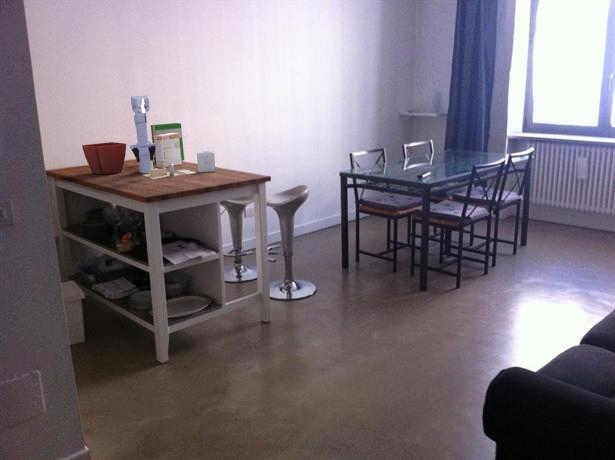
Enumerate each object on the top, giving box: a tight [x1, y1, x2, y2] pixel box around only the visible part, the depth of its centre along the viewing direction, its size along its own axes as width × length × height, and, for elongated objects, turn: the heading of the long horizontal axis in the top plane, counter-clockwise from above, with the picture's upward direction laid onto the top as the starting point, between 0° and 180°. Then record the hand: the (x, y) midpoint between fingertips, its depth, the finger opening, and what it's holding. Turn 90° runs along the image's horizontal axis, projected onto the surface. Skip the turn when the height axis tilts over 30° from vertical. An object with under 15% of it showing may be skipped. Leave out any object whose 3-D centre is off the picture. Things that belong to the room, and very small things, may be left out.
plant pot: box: [81, 141, 127, 176], centre depth 353 cm, size 19×19×17 cm
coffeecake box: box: [154, 133, 182, 168], centre depth 372 cm, size 15×7×20 cm, turn 144°
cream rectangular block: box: [149, 167, 168, 176], centre depth 334 cm, size 5×8×4 cm, turn 124°
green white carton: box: [150, 122, 185, 163], centre depth 390 cm, size 18×7×24 cm, turn 126°
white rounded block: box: [196, 149, 216, 173], centre depth 342 cm, size 10×4×12 cm, turn 126°
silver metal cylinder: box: [168, 164, 175, 177], centre depth 331 cm, size 3×3×6 cm
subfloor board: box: [142, 169, 197, 180], centre depth 337 cm, size 18×26×1 cm
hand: (145, 161), depth 327 cm, fingers open, 7 cm apart
